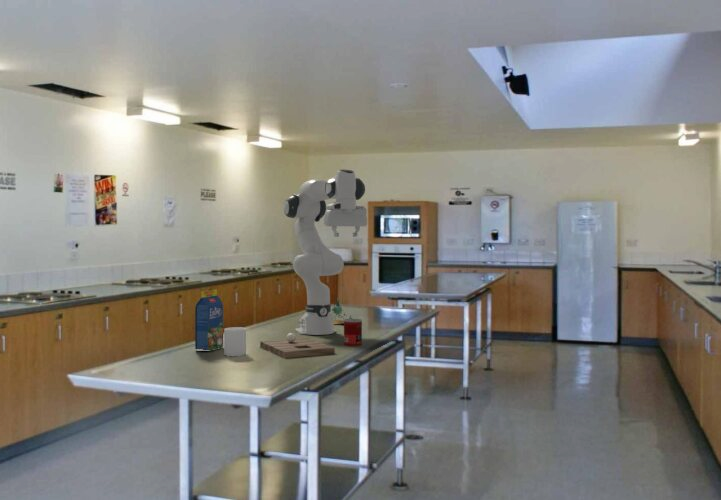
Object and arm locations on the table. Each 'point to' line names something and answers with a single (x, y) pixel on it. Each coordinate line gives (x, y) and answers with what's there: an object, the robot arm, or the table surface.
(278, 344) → the board
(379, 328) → the table surface
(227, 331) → the mug
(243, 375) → the table surface
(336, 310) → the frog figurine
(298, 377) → the table surface
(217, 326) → the blue food package
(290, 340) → the ball
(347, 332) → the canned food
